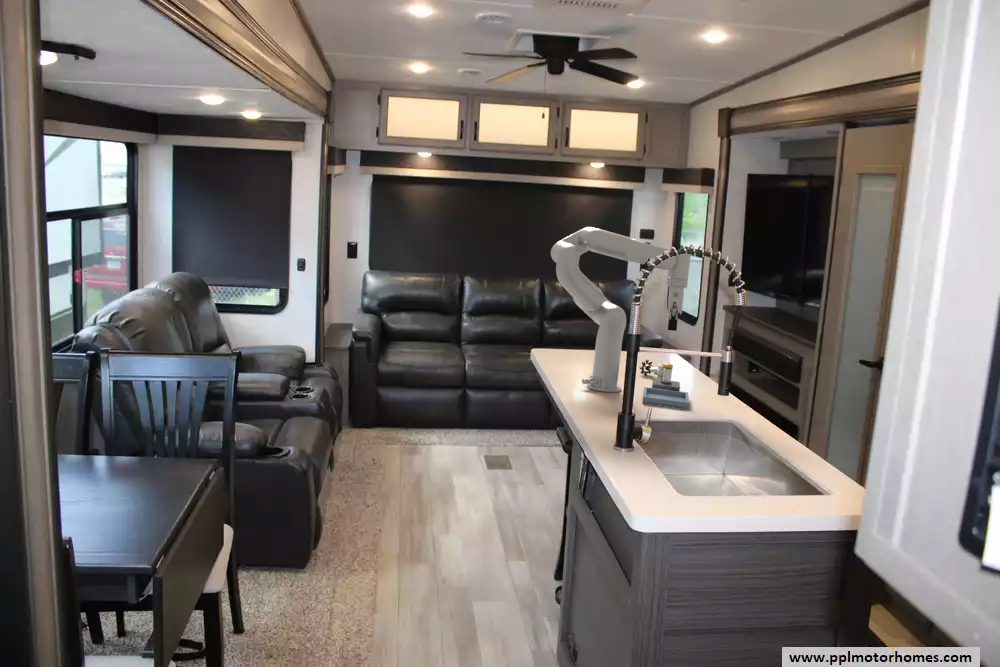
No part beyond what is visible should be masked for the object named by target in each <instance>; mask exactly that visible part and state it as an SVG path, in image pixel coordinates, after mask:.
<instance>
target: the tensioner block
mask: <svg viewBox="0 0 1000 667" xmlns="http://www.w3.org/2000/svg"><path fill="white" fill-rule="evenodd" d="M662 381H663V380H660V379H657V378H653V379H652V385H651V388H656V389H664V390H672V391H680V390H681V384H680V382H681V381H675V380H673V381H672V380H671V382H670V385H669V384H662ZM680 392H681V391H680Z"/></svg>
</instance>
